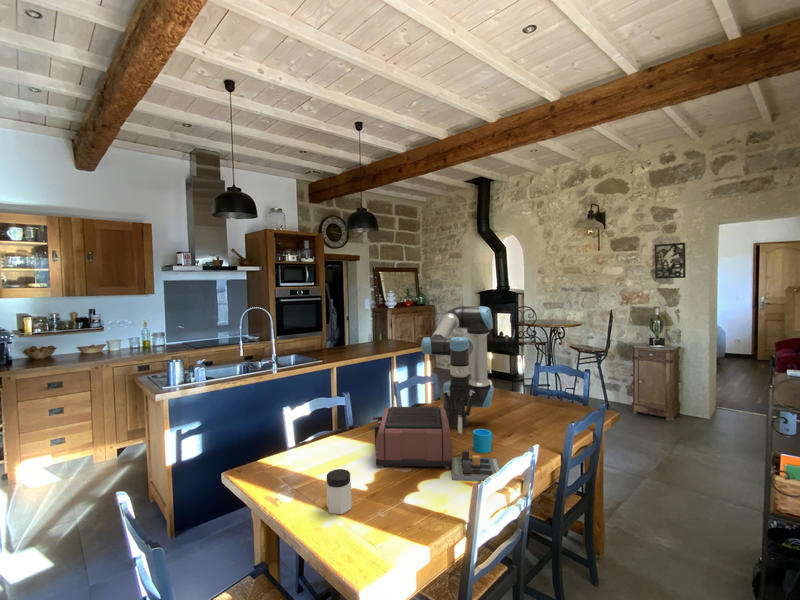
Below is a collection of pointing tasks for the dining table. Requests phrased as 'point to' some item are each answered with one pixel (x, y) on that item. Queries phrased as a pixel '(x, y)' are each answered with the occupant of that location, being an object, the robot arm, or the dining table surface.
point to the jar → (338, 491)
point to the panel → (474, 469)
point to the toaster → (413, 437)
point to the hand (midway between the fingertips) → (459, 431)
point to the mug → (482, 440)
